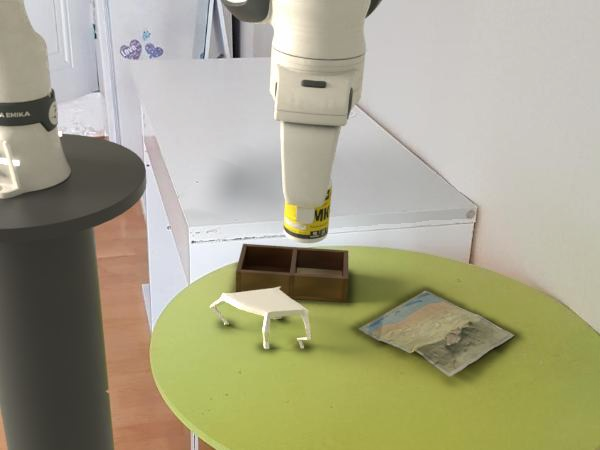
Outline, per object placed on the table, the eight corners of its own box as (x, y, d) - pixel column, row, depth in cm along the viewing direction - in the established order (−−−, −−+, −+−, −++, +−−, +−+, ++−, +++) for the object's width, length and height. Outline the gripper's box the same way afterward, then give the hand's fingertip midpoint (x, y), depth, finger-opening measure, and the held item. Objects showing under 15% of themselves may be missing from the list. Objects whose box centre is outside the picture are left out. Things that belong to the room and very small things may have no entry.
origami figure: (309, 313, 93) (311, 280, 91) (310, 355, 86) (312, 319, 83) (212, 310, 93) (212, 276, 91) (205, 351, 85) (204, 315, 83)
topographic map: (515, 336, 91) (517, 324, 90) (450, 380, 82) (451, 368, 81) (425, 293, 99) (427, 282, 99) (357, 329, 91) (358, 318, 90)
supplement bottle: (313, 249, 77) (319, 173, 73) (274, 235, 79) (278, 161, 75) (336, 231, 80) (342, 158, 76) (298, 219, 82) (302, 147, 79)
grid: (235, 294, 96) (235, 271, 95) (242, 265, 103) (243, 243, 101) (346, 302, 96) (348, 279, 94) (346, 272, 102) (348, 250, 101)
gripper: (292, 47, 81) (285, 165, 87) (272, 108, 63) (266, 252, 69) (350, 52, 81) (340, 170, 87) (347, 115, 63) (334, 258, 69)
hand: (307, 207), depth 78 cm, fingers closed on supplement bottle, 5 cm apart
